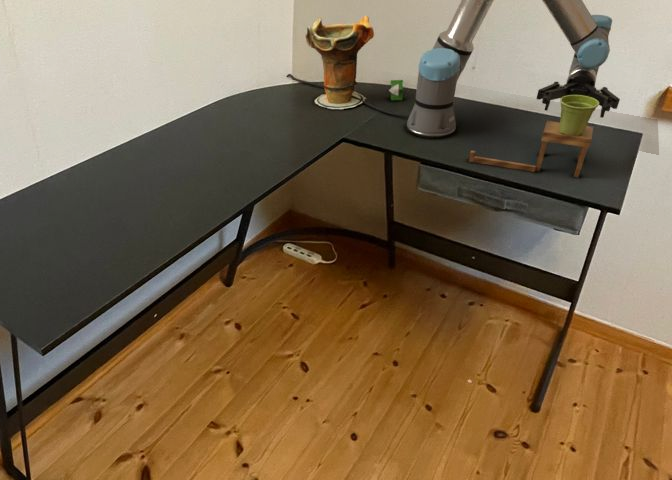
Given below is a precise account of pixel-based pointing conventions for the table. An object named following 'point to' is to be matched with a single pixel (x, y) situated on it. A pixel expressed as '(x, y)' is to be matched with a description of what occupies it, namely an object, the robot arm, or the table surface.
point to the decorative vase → (339, 59)
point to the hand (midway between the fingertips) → (574, 109)
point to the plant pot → (576, 113)
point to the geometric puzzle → (396, 90)
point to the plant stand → (549, 135)
